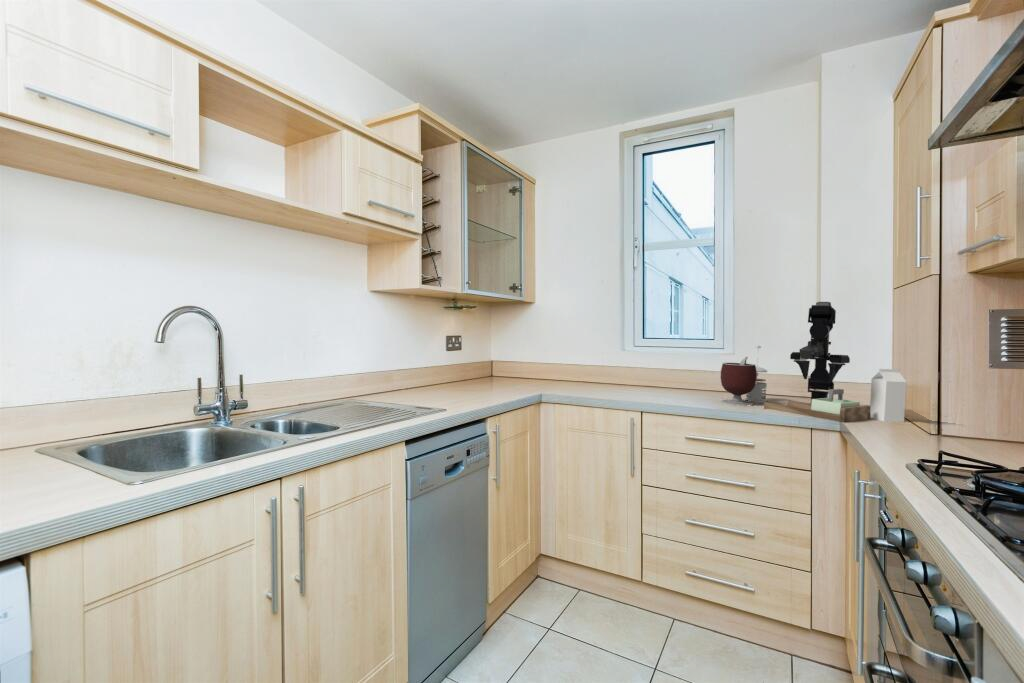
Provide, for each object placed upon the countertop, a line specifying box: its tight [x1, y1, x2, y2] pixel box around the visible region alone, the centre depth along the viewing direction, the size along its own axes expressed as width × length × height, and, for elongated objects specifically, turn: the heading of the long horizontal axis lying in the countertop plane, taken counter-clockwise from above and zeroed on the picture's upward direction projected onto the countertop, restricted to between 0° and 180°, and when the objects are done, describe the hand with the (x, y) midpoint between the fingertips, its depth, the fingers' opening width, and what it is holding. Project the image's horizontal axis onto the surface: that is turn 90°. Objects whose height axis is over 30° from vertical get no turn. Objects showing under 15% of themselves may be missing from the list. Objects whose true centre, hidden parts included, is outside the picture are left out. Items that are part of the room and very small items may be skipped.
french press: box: [743, 344, 768, 403], centre depth 214 cm, size 10×12×25 cm
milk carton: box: [869, 368, 907, 423], centre depth 171 cm, size 7×7×19 cm
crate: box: [811, 388, 861, 414], centre depth 173 cm, size 12×10×10 cm
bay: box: [763, 400, 871, 423], centre depth 180 cm, size 17×30×6 cm, turn 28°
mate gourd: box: [720, 356, 758, 406], centre depth 204 cm, size 16×14×20 cm
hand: (817, 380), depth 177 cm, fingers open, 9 cm apart
